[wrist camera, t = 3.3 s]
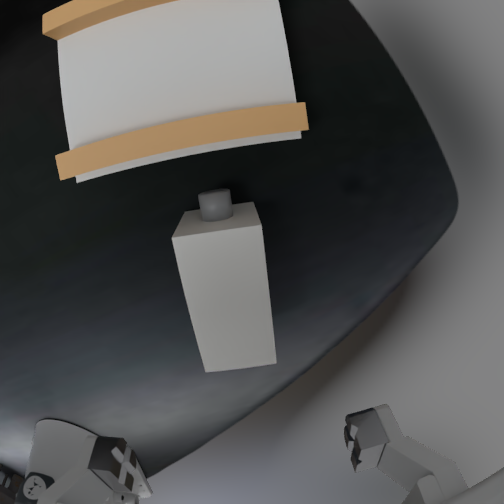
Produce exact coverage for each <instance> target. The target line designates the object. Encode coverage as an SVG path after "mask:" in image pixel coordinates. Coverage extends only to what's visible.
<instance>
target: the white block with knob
mask: <svg viewBox="0 0 504 504" xmlns="http://www.w3.org/2000/svg"><path fill="white" fill-rule="evenodd" d="M198 198H199V204H200V209H199V210H193V211H186V212H185V213H184V215H183V217H182V219H181V221H180V223H179V224H178V226H177V228H176V230H175V232H174V234H173V236H172V241H173V246H174V251H175V255H176V260H177V264H178V268H179V273H180V277H181V281H182V285H183V290H184V294H185V298H186V302H187V306H188V310H189V313H190V317H191V321H192V325H193V329H194V332H195V336H196V340H197V343H198V347H199V351H200V354H201V358H202V361H203V365H204V368H205V371H206V372H215V371H225V370H233V369H241V368H249V367H257V366H264V365H270V364H277V361H276V351H275V341H274V332H273V323H272V313H271V304H270V295H269V286H268V277H267V268H266V259H265V250H264V241H263V233H262V225H261V222H260V219H259V216H258V214H257V211H256V208H255V205H254V202H248V203H240V204H233V205H232V202H231V195H230V190H229V189H215V190H210V191H205V192H202V193H200V194H198Z"/></svg>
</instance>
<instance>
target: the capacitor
mask: <svg viewBox="0 0 504 504" xmlns="http://www.w3.org/2000/svg"><path fill="white" fill-rule="evenodd" d="M1 468H2V465H1V464H0V470H1ZM7 478H8V474H6V475H5V478H4V480H3V483H2V485H0V504H15V499H16V494H17V493H18V490H19V487H20V484H22V482H23V481H24V479H23V478H22V477H20V476H18V475H16V474H14V475H13V477H12V478H11V482H10V485H9V487H8V488H5V487H4V485H5V483H6V480H7Z"/></svg>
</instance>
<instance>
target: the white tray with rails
mask: <svg viewBox="0 0 504 504" xmlns="http://www.w3.org/2000/svg"><path fill="white" fill-rule="evenodd" d="M43 34H44V35H46V36H49V37H51V38H53V39H55V40H58V57H59V71H60V82H61V92H62V101H63V108H64V116H65V122H66V129H67V135H68V141H69V146H70V151H67V152H64V153H61V154H59V155H56V156H55V157H56V162H57V167H58V172H59V176H60V181H61V180H64V179H67V178H70V177H73V176H76V181H77V183H78V182H81V181H85V180H88V179H92V178H95V177H99V176H102V175H106V174H110V173H114V172H118V171H121V170H125V169H129V168H133V167H138V166H142V165H146V164H150V163H155V162H159V161H164V160H168V159H173V158H178V157H183V156H188V155H193V154H198V153H203V152H209V151H215V150H220V149H226V148H232V147H239V146H245V145H252V144H259V143H266V142H274V141H282V140H290V139H299V138H301V131H302V130H309V128H308V120H307V113H306V106H305V102H301V103H296V96H295V90H294V83H293V77H292V71H291V65H290V59H289V53H288V48H287V42H286V37H285V31H284V26H283V21H282V16H281V11H280V6H279V1H278V0H73V1H71V2H68V3H66V4H64V5H62V6H60V7H58V8H55V9H53V10H51V11H49V12H47V13H45V14H44V15H43Z"/></svg>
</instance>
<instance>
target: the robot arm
mask: <svg viewBox="0 0 504 504" xmlns="http://www.w3.org/2000/svg"><path fill="white" fill-rule="evenodd" d="M345 421H346V424H347V425H346V426H345V428H344V437H345V442H346V446H347V449H348V450H349V451H351V452H352V454H351V462H352V465H353V468H354V471H355V473H357V472H361V471H364V470H368V469H372V468H375V467H377V468H378V469H379V470H381V471H382V472H383V473H384V474H386V475H387V476H388V477H390V478H391V479H392V480H394V481H395V482H396V483H398V484H399V485H401V486H402V487H403V488H405V489H406V490H407V491H409V492H410V493H409V494H408V496H407V497H406V498H405V500H404V501H403V503H402V504H504V467H503V468H502V469H500V470H499V471H497V472H496V473H494V474H492V475H491V476H490V477H488V478H486V479H484V480H483V481H481V482H479V483H478V484H476V485H474V486H472V487H471V488H468V486H467V484H466V483H465V480H464V479H463V477H462V474H461V472H460V471H459V469H458V467H457V465H456V463H455V462H454V461H452V460H450V459H448V458H446V457H445V456H443V455H441V454H439V453H437V452H435V451H433V450H431V449H430V448H428V447H426V446H424V445H423V444H421V443H419V442H417V441H415V440H413V439H412V438H410V437H408V436H407V437H404V436H403V434H402V432H401V430H400V428H399V426H398V424H397V422H396V420H395V418H394V416H393V414H392V411H391V409H390V408H389V406H388V405H387V404H384V405H380V406H377V407H374V408H369V409H366V410H363V411H359V412H356V413H352V414H348V415H347V416H346V419H345ZM31 444H32V449H31V453H30V457H29V461H28V465H27V469H26V473H25V479H24V481H23V482H22V484H20V487H19V490H18V493H17V494H16V499H15V504H139V498H147V497H151V496H152V490H151V488H150V486H149V484H148V482H147V480H146V478H145V476H144V474H143V471H142V469H141V467H140V465H139V463H138V461H137V459H136V455H135V453H134V451H133V450H132V449H131V448H130V447H128V446H126V444H127V442H126V441H125V440H124V438H116V437H103V436H96V435H94V434H92V433H91V432H89V431H86V430H84V429H82V428H80V427H77V426H75V425H72V424H69V423H66V422H62V421H58V420H41V421H39V422H38V423H37V424H36V426H35V435H34V437H33V439H32V443H31Z"/></svg>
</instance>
